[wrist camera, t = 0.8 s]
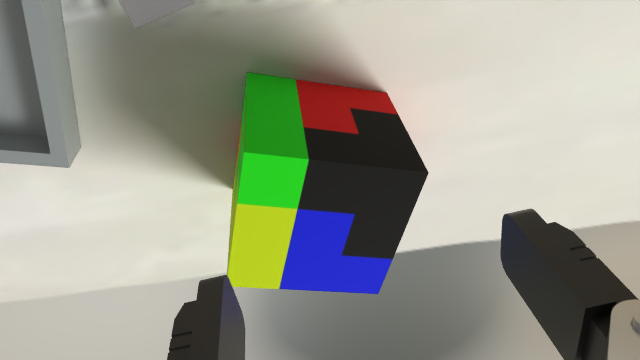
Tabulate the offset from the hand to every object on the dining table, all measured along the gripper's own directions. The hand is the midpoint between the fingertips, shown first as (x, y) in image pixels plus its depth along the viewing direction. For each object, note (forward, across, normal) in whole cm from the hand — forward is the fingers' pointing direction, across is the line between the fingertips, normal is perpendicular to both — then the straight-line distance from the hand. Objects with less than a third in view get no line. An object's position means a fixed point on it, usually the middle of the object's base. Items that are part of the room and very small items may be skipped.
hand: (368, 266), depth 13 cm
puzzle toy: (+22, +1, +7) cm, 23 cm away
